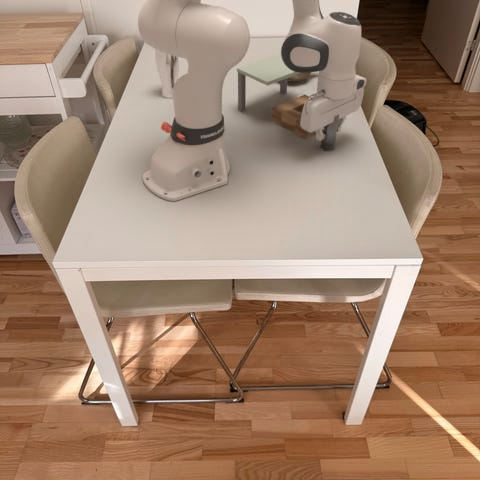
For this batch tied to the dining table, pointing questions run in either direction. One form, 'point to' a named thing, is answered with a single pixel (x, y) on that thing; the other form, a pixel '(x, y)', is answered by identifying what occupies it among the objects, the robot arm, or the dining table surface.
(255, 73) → the pale green platform
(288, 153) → the dining table surface
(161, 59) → the cream rounded piece
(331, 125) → the peg
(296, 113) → the socket plate
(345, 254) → the dining table surface
